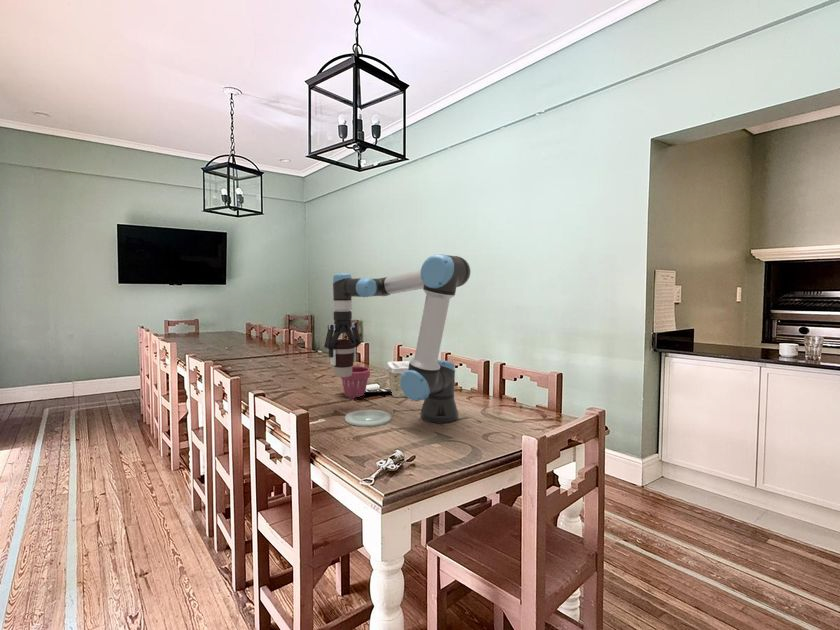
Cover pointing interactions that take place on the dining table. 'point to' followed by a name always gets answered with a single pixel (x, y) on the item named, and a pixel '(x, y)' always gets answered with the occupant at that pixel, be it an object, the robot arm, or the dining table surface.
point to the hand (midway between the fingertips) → (343, 363)
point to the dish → (368, 418)
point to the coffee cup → (344, 358)
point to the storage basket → (396, 376)
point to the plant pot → (356, 382)
